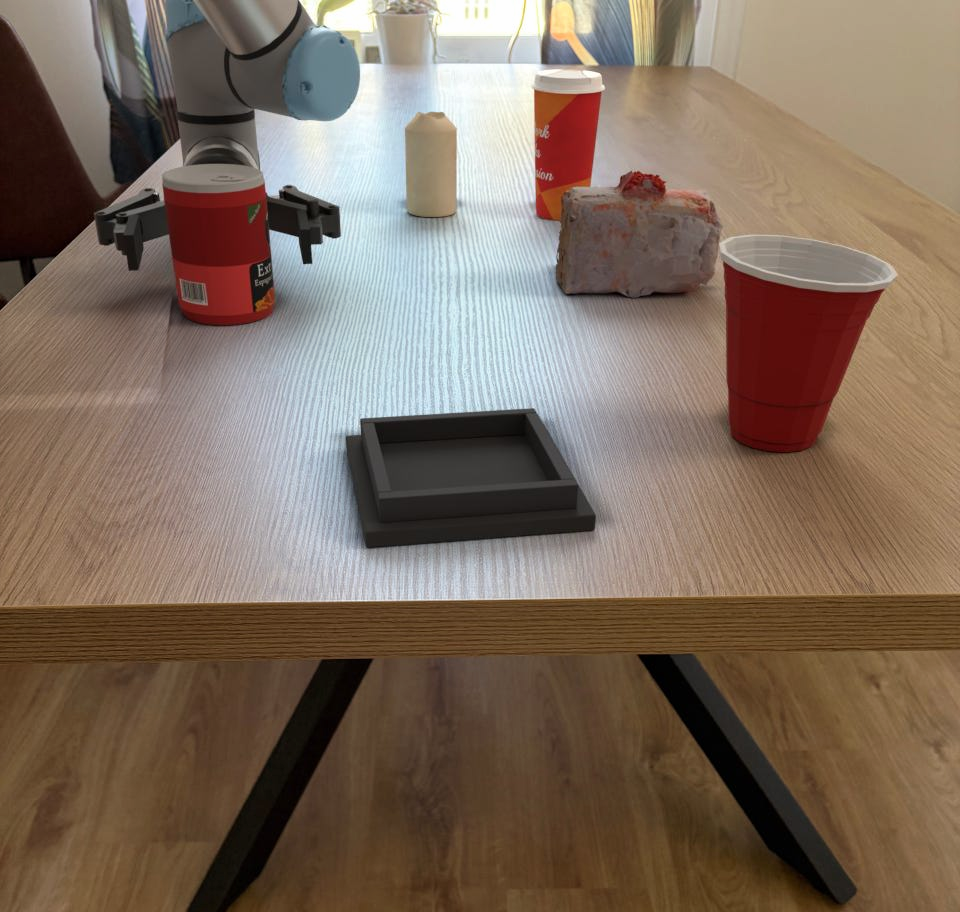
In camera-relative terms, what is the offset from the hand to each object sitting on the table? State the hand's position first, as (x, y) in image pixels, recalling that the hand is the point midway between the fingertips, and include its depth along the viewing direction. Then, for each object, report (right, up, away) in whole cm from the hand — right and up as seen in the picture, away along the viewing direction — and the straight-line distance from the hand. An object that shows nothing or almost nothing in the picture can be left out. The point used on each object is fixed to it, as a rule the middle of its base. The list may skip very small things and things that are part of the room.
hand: (219, 250), depth 88 cm
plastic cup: (+40, -17, -14) cm, 46 cm away
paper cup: (+29, +16, +35) cm, 49 cm away
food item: (+34, +1, +13) cm, 37 cm away
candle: (+15, +16, +35) cm, 42 cm away
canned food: (-1, -3, +6) cm, 7 cm away
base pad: (+19, -22, -21) cm, 36 cm away
